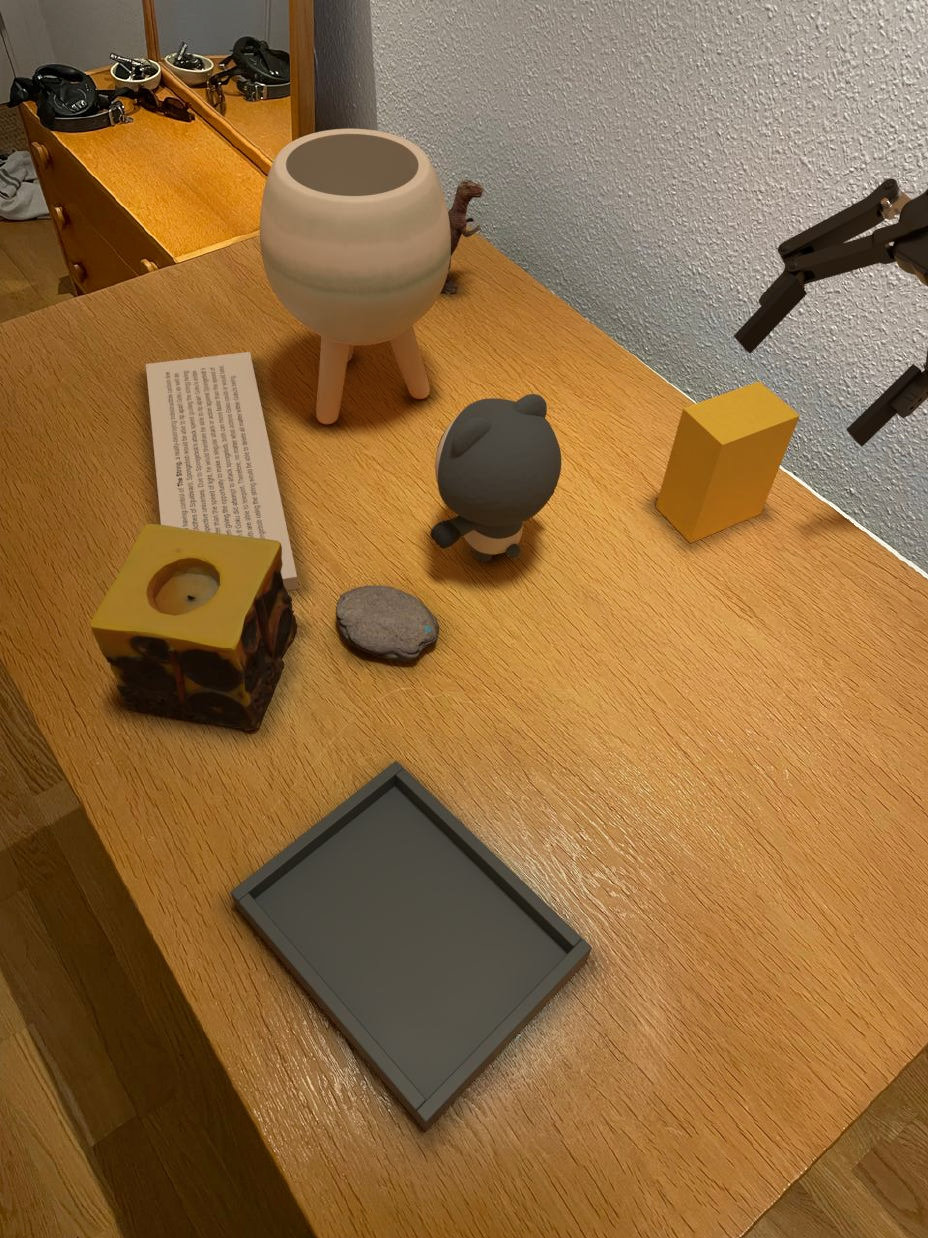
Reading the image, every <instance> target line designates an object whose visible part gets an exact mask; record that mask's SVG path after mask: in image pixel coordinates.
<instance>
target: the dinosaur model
mask: <svg viewBox="0 0 928 1238" xmlns="http://www.w3.org/2000/svg"><path fill="white" fill-rule="evenodd" d="M455 192H456V193H455V195H454V199H453V204H452V206H451V208H450V209H448V216H449V223H450V234H451V254H450V263H449V269H448V272H449V271H450V269H451V265H452V255H453V254H454V252H455V251H456V250H457V247H458V246H459V242H460V239H461V237H462V235H463V237H465V238H469V237H471V236H473V235H474V234H475V233H477V232H478V231H482V228H481V225H480V224H477V225H476V226H475V227H474V228H473V229H472V230H467V224H468V223H472V222H475V220H474V218H473V217H469V218H466V216H467V212H468V206H469V204H470V202H471V201H472V199H474V198H477V199H479V198H482V197H483V193H484V192H485V189H484V186H483V185H481V184H478V183H476V182H473V180H472V179H463V180H462V181H461V182H460V183H458V185H457V187H456V191H455ZM452 280H453V278H452V277H451V275H450V274H449V273H448V274H447V278H446V281H445V283H444V286H443V289H442V291H441V293H446V294H449V295H450V294H452V295H453V294H457V293H458V289H459V286H458V285H457V284H456V283H455V282H453V281H452Z"/></svg>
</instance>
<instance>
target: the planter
mask: <svg viewBox="0 0 928 1238" xmlns="http://www.w3.org/2000/svg"><path fill="white" fill-rule="evenodd" d="M448 211H449V209H448V206H447V202H446V197H445V194H444V191H443V187H442V185H441V181H440V179H439V176H438V173H437V172H436V169H435V167H434V165H433V164H432V161H431V160H430V158H429V157H428V155H427V153H425V151H423V150H422V148H420V146H418V145H417V144H415V143H413V142H412V141H410V140H408V139H406V138H404V137H401V136H399V135H396V134H393V133H389V132H385V131H380V130H373V129H368V128H367V129H366V128H336V129H327V130H321V131H317V132H313V133H309V134H307V135H304V136H303V135H302V136H301V137H298V138H297V139H294V140H293V141H291V142H289V143H288V144H286V145H284V147H282V149H280V151H278V154H276V156H275V157H274V160H273V162H272V164H271V166H270V169H269V171H268V174H267V177H266V181H265V185H264V189H263V193H262V198H261V205H260V214H259V244H260V245H259V246H260V253H261V260H262V264H263V268H264V271H265V276H266V278H267V280H268V283H269V285H270V287H271V289H272V291H273V292H274V294H275V296H276V298H277V299H278V301H279V302H280V304H281V305H282V306H283V307H284V308H285V309H286V310H287V311H288V313H289V314H290V315H291V316H292V317H294V318H295V319H296V320H297V321H298V322H299V323H301V324H302V325H304V326H305V327H307V328H308V329H309V330H311V331H313V332H314V333H315V334H316V335H318V336H320V337H321V338H320V339H321V340H320V350H319V351H320V354H319V355H320V356H319V367H318V383H317V392H316V407H315V409H316V410H315V417H316V419H317V421H318V422H319V423H321V424H322V425H332V424H334V423H336V421H338V419H339V416H340V409H341V402H342V398H343V391H344V386H345V379H346V373H347V368H348V362H350V361H351V360H352V358H353V353H354V347H355V346H371V345H377V344H381V343H386V342H389V344H390V347H391V349H392V352H393V356H394V357H395V360H396V363H397V365H398V368H399V370H400V373H401V376H402V378H403V380H404V382H405V383H404V384H405V385H406V388H407V391H408V393H409V395H410V396H411V397H412V398H413V399H416V400H423V399H425V398H427V397H428V396H429V395H430V393H431V387H430V382H429V378H428V375H427V371H426V368H425V365H424V361H423V358H422V355H421V351H420V347H419V343H418V340H417V336H416V332H415V328H414V325H415V324H417V323H418V322H419V321H420V320H421V319H422V318H424V316H425V315H426V314H427V313H428V312H429V311H430V310H431V308H432V307H433V306H434V304H435V303H436V301H437V300H438V298H439V296H440V295H441V293H442V289H443V286H444V283H445V281H446V278H447V274H449V271H448V269H449V263H450V254H451V234H450V223H449V216H448ZM449 270H450V269H449Z"/></svg>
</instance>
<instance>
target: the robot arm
mask: <svg viewBox="0 0 928 1238" xmlns="http://www.w3.org/2000/svg"><path fill="white" fill-rule="evenodd" d="M898 215H899V216H898ZM896 216H898V221H897V222H896V223H893V224H890V225H886V226H883V227H879V228H876V229H875V230H873V231H872V233H871V234H868V235H866V236H862V237H859V238H856V237H858V236H859V235H862V234H863V233H865V232H867V231H869V230H871V229H873V228H875V227H877V226H878V225H880V224H881V223H883V221H885V220H888V221H892V220H894V219H895V217H896ZM854 238H855V239H854ZM891 243H893V244H892V245H891ZM777 253H778V254H779V256H780V258H781V260H782V262H783V265H784V269H783V271H782V272H781V274H780V275H779V276H778V277H776V279H775V280H774V281H773V282H772V283H771V284H770V285H769V287H768V288H767V289H766V290H765V291H763V293H762V294H761V295H760V296H759V299H758V301H757V302H758V303H759V305H760V307H759V308H758V309H757V310H756V311H755V312H754V314H752V315H751V316H750V318H749V319H747V321H746V322H744V324H743V325H742V326H741V327H740V328H739V329H738V330H737V331H736V332H735V334H734V335H733V337H734V338H735V339H736V341H737V342H738V343H739V344H740V345H741V347H742V348H743V349H744V350H745V351H746V352H747V353H748V354H750V355H751V354H752V353H753V352H754V351H755V350H756V349H757V347H759V346H760V345H761V344H762V342H763V341H764V340H765V339H766V338H767V337H768V336H769V335H770V334H771V333H772V332H773V331H774V329H775V328H776V327H778V325H779V324H780V323H781V322H782V321H783V320H784V319H785V318H786V317H787V316H788V315H789V314H790V313H791V312H792V310H793V309H794V308H796V306H798V304H799V303H800V302H801V301H802V300H803V299H804V298H805V297H806V296H807V295H808V292H807V291H806V285H808V284H811V283H815V282H817V281H821V280H826V279H829V278H832V277H835V276H839V275H842V274H846V273H850V272H853V271H856V270H860V269H863V268H864V269H865V268H867V267H871V266H874V265H878V264H881V265H889V264H893V263H897V266H898V268H899V269H900V270H902V271H904V272H905V273H907V274H910V275H914V276H916V277H917V279H918V280H919V282H920V283H921V284H923V285H924V286H926V287H928V187H927V188H926V190H925V191H924V192H922V193H921V194H919V195H918V196H916V197H913V198H910V197H909V196H908V195H907V194H905V193H904V191H902V190H901V189H900V187H899V184H898V182H897V180H896V179H895V178H887V179H885V180H884V181H882V183H880V184H879V185H878V186H877V187H876V188H874V189H873V191H872V192H870V193H869V194H868V195H867V196H866V197H865V198H862V199H861V200H859V201H857V202H855V203H854V204H851V205H850V206H848V207H846V208H844V209H843V210H840V211H838V212H837V213H835V214H833V215H831V216H829V217H827V218H825V219H823V220H822V221H820V222H818V223H815V224H814V225H813V226H810V227H808V228H807V229H805V230H803V231H801V232H800V233H797V234H796V235H794V236H792V237H790V238H788V239H786V240H784V241H782V242H781V243H780V244H779V245H778V247H777ZM925 357H926V358H925V363H922V367H923V369H924V370H923V371H922V369H921V368H920V367H918V366H917V365H915V363H912V364H911V365H910V366H909V367H908V368H907V369H906V370H904V372H903V373H902V374H901V375H900V376H899V377H897V379H896V380H895V381H894V382H893V383H892V384H891V385H889V387H888V388H886V389H885V391H883V393H882V394H880V395H879V397H878V398H876V400H874V401H873V403H871V404H870V405H869V406H868V407H867V408H866V409H865V410H864V411H863V412H862V413H861V414H860V415H859V416H858V417H857V418H856V419H855V420H854V421H853V422H852V423H851V424H850V425H849V426H848V427H847V428H846V431H847V432H848V434H849V435H850V437H851V438H852V439H853V441H854V442H855V443H857V445H858V446H860V447H861V448H863V447H864V446H865V445H866V444H867V443H868V442H869V441H870V440H871V439H872V438H873V437H874V436H875V435H876V434H877V433H878V432H880V430H881V429H882V428H883V427H884V426H886V425H887V423H888V422H889V421H891V420H892V418H894V417H895V416H896V415H898V416H899V417H900V418H901V419H905V418H907V417H909V416H911V415H912V414H913V413H914V412H915V411H916V410H917V409H918V408H919V407H920V406H921V405H922V404H923V403H924V402H926V400H928V348H927V350H926V356H925Z"/></svg>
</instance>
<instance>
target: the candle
mask: <svg viewBox="0 0 928 1238" xmlns="http://www.w3.org/2000/svg"><path fill="white" fill-rule="evenodd" d="M282 565H283V564H282V546H281V543H280V542H279V541H276V540H269V539H260V538H252V537H244V536H236V535H227V534H219V533H211V532H204V531H197V530H190V529H184V528H178V527H172V526H166V525H161V523H160V524H158V523H148V522H147V523H145V525H144V526H143V528H142V529H141V531H140V532H139V534H138V536H137V538H136V540H135V542H134V544H133V546H132V548H131V549H130V551H129V554H128V556H127V558H126V559H125V561H124V562H123V565H122V567H121V569H120V571H119V572H118V574H117V576H116V577H115V579H114V581H113V583H112V584H111V586H110V587H109V589H108V590H107V591H106V594H105V595H104V598H103V599H102V601H101V602H100V605H99V606H98V608H97V610H96V611H95V613H94V615H93V616H92V618H91V620H90V626H91V632H92V635H93V637H94V639H95V641H96V643H97V645H98V648H99V650H100V651H101V653H102V656H103V657H104V658H105V660H106V662H107V663H109V665H110V671H112V673H113V674H114V677H115V678H116V682H117V684H116V688H117V691H118V693H119V694H120V696H121V697H122V699H123V701H124V706H125V707H127V708H128V709H130V710H134V711H138V712H143V713H150V714H152V715H155V716H168V717H169V718H176V719H180V720H182V719H184V720H187V721H190V722H199V723H201V724H214V725H220V726H224V727H230V728H234V729H235V728H236V729H242V730H244V731H245V732H249V731H253V730H256V729H259V727H260V726H261V723H262V720H263V718H264V715H265V712H266V710H267V708H268V705H269V702H270V701H271V700H272V696H273V694H274V693H275V689H276V685H277V682H278V681H279V680H280V677H281V674H282V672H283V670H282V668H283V667H284V666H285V661H283V655H284V653H285V652H286V650H287V649H288V646H289V645H290V643H291V642H292V641H293V640H294V639H295V636H296V634H297V630H298V627H299V626H298V623H297V619H296V615H294V614H295V610H293V604H292V603H293V602H292V601H293V598H292V597H291V595H289V592H288V591H287V590H286V587H285V585H284V583H283V579H282V574H281V569H282Z"/></svg>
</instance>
